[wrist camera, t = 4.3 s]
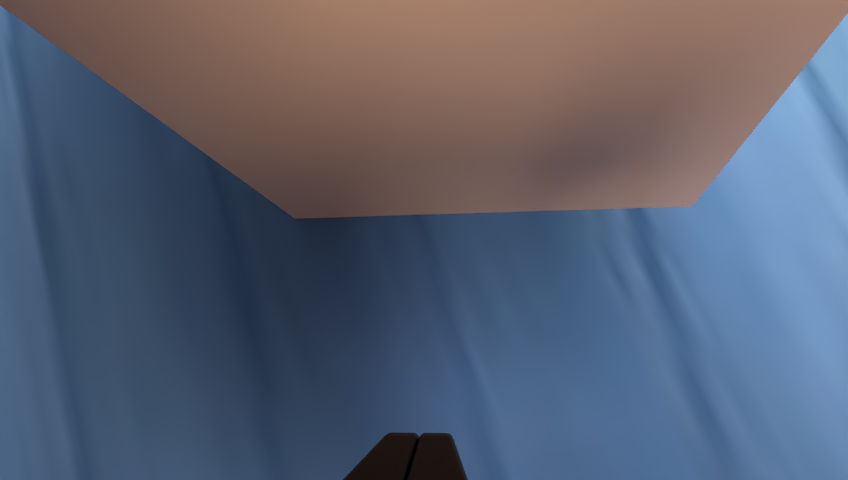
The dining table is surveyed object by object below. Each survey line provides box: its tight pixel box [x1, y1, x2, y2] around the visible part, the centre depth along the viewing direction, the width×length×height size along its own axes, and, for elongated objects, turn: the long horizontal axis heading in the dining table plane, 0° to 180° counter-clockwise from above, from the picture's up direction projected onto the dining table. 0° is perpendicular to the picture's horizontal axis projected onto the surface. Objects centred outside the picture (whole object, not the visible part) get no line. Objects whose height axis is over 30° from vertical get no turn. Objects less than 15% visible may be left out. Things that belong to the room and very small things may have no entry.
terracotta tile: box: [0, 0, 848, 219], centre depth 16 cm, size 2×12×14 cm, turn 90°
